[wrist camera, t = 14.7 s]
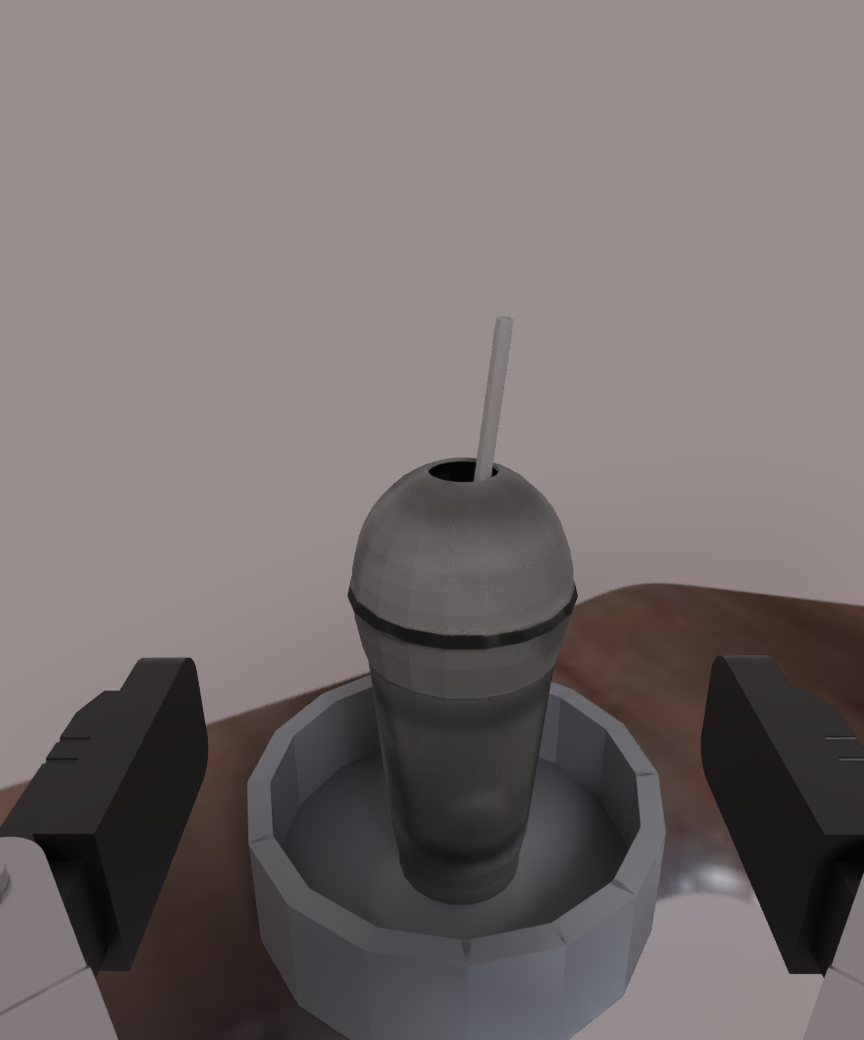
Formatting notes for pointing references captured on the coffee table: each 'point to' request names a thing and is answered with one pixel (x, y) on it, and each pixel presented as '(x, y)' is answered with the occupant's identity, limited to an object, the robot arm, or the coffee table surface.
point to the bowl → (439, 926)
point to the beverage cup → (462, 654)
